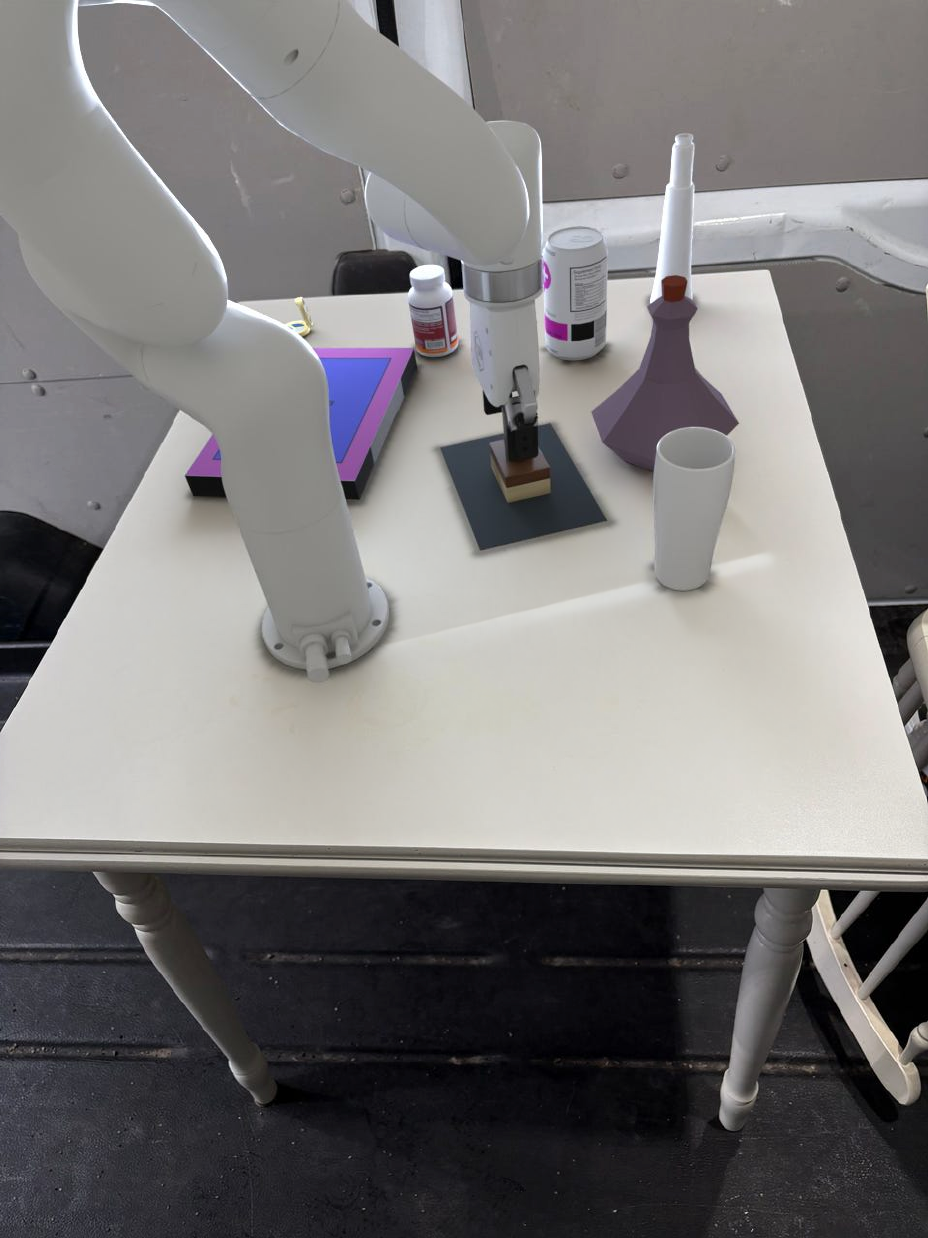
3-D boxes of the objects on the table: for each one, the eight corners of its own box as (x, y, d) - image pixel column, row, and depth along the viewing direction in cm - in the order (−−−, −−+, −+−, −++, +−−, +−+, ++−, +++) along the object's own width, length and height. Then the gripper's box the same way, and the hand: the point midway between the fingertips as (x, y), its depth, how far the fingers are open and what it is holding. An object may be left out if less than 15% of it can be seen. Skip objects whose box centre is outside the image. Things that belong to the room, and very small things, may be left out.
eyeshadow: (280, 327, 129) (272, 296, 125) (313, 322, 129) (305, 290, 126) (281, 340, 126) (273, 309, 122) (314, 334, 126) (306, 303, 122)
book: (414, 347, 114) (354, 480, 94) (417, 367, 116) (359, 502, 96) (270, 347, 118) (184, 475, 98) (276, 367, 120) (193, 495, 100)
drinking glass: (664, 606, 80) (676, 478, 69) (635, 562, 84) (642, 436, 74) (729, 588, 80) (752, 459, 70) (697, 545, 85) (713, 418, 74)
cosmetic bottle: (701, 302, 121) (719, 134, 105) (668, 315, 119) (681, 146, 103) (673, 288, 125) (687, 124, 109) (641, 301, 123) (650, 136, 107)
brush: (550, 493, 93) (548, 419, 86) (507, 503, 92) (501, 429, 86) (532, 458, 98) (529, 386, 91) (491, 467, 97) (484, 395, 91)
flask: (576, 484, 94) (575, 316, 80) (603, 405, 105) (607, 244, 90) (727, 500, 90) (755, 324, 75) (739, 415, 100) (766, 247, 86)
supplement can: (540, 361, 114) (535, 250, 103) (553, 331, 119) (550, 223, 109) (599, 364, 112) (601, 251, 101) (610, 334, 117) (613, 224, 106)
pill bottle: (441, 332, 122) (431, 257, 115) (467, 346, 119) (459, 269, 111) (407, 349, 120) (395, 273, 112) (433, 363, 116) (422, 286, 109)
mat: (607, 523, 89) (607, 520, 89) (480, 552, 88) (480, 550, 87) (550, 425, 103) (550, 422, 103) (440, 449, 102) (439, 447, 101)
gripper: (444, 249, 84) (458, 401, 96) (487, 321, 71) (497, 485, 83) (516, 236, 84) (521, 389, 96) (570, 306, 72) (569, 471, 84)
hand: (510, 434), depth 90 cm, fingers open, 9 cm apart
